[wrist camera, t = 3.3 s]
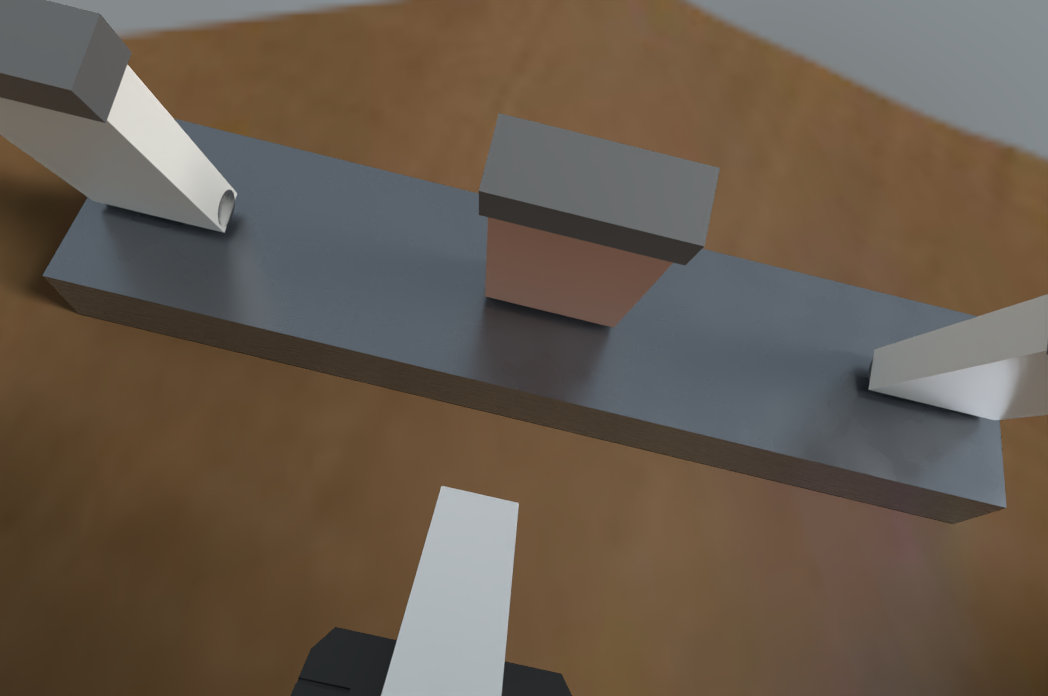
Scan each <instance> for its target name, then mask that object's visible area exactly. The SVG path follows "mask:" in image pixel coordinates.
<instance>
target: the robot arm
mask: <svg viewBox="0 0 1048 696" xmlns="http://www.w3.org/2000/svg"><path fill="white" fill-rule="evenodd" d="M518 506H519V503H516V502H512V501H507V500H503V499H498V498H494V497H489V496H485V495H481V494H476V493H472V492H467V491H463V490H458V489H454V488H449V487H445V486H441V490H440V493H439V497H438V500H437V504H436V507H435V511H434V514H433V517H432V521H431V524H430V528H429V531H428V535H427V538H426V542H425V545H424V549H423V552H422V556H421V559H420V562H419V566H418V569H417V573H416V576H415V580H414V583H413V587H412V590H411V594H410V597H409V601H408V604H407V607H406V611H405V614H404V618H403V621H402V625H401V628H400V632H399V635H398V639H397V640H393V639H388V638H383V637H379V636H374V635H370V634H365V633H360V632H356V631H351V630H346V629H342V628H337V627H335V628H334V629H333V630H332V631H331V632H329V633H328V634H327V635H326V636H325V637H324V638H323V639H322V640H320V641H319V642H318V643H317V644H316V645H315V646H314V647H313V648H311V650H310V653H309V655H308V657H307V660H306V662H305V664H304V666H303V669H302V671H301V673H300V676H299V679H298V682H297V683H296V685H295V687H294V689H293V692H292V694H291V696H572V695H571V693H570V691H569V689H568V687H567V685H566V682H565V680H564V678H563V676H562V674H560V673H555V672H551V671H546V670H541V669H537V668H532V667H528V666H523V665H518V664H514V663H509V662H505V651H506V640H507V629H508V618H509V606H510V595H511V584H512V573H513V562H514V551H515V540H516V529H517V518H518Z"/></svg>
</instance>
